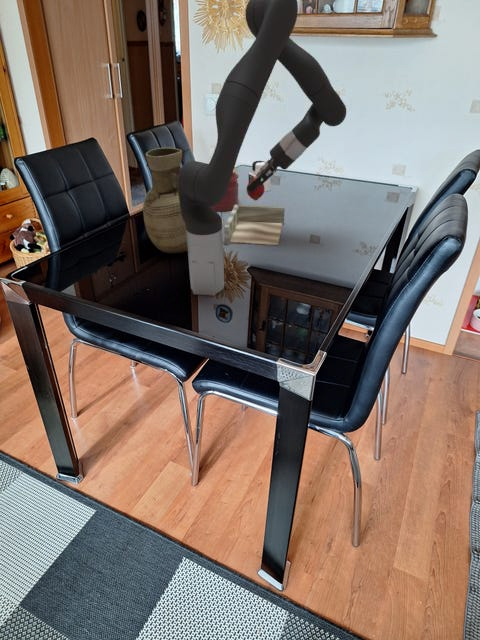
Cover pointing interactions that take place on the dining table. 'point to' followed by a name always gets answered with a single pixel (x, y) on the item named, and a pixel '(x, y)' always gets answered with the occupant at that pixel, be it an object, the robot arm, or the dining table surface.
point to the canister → (229, 195)
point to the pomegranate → (256, 191)
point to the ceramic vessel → (165, 202)
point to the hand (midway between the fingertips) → (250, 187)
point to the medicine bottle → (255, 168)
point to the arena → (254, 224)
